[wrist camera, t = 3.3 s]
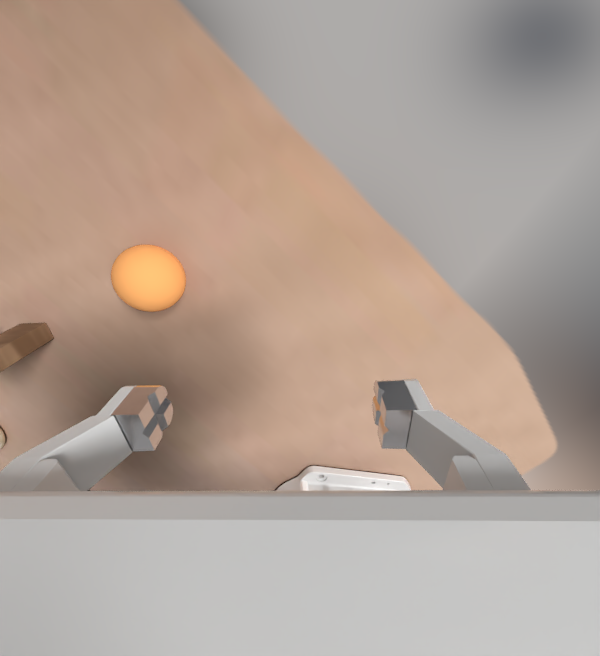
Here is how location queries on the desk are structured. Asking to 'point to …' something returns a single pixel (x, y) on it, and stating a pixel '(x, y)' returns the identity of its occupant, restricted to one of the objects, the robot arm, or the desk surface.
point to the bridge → (22, 342)
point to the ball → (148, 278)
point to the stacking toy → (2, 438)
